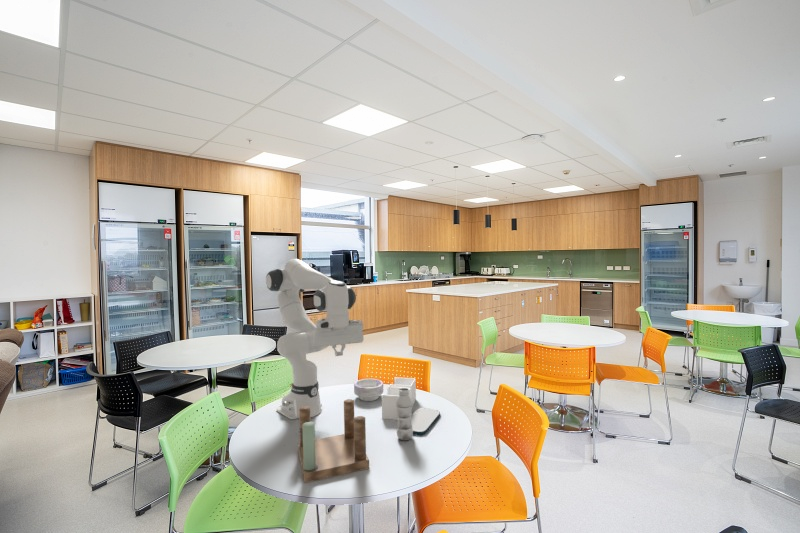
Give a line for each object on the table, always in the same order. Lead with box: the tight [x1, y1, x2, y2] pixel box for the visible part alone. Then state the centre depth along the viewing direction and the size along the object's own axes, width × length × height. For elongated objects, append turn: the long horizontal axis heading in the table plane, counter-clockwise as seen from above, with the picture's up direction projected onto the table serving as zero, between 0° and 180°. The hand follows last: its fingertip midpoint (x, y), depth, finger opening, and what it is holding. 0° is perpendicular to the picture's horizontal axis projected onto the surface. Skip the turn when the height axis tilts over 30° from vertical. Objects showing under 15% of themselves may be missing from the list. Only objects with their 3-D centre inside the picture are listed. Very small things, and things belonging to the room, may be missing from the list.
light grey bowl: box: [353, 378, 384, 402], centre depth 196 cm, size 15×15×8 cm
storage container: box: [381, 376, 417, 420], centre depth 182 cm, size 25×11×11 cm, turn 167°
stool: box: [297, 398, 370, 483], centre depth 137 cm, size 22×22×17 cm
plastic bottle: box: [396, 388, 414, 441], centre depth 152 cm, size 6×7×20 cm
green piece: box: [302, 421, 316, 470], centre depth 130 cm, size 12×4×14 cm, turn 17°
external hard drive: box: [411, 407, 441, 436], centre depth 166 cm, size 24×12×2 cm, turn 156°
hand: (338, 355), depth 152 cm, fingers closed
